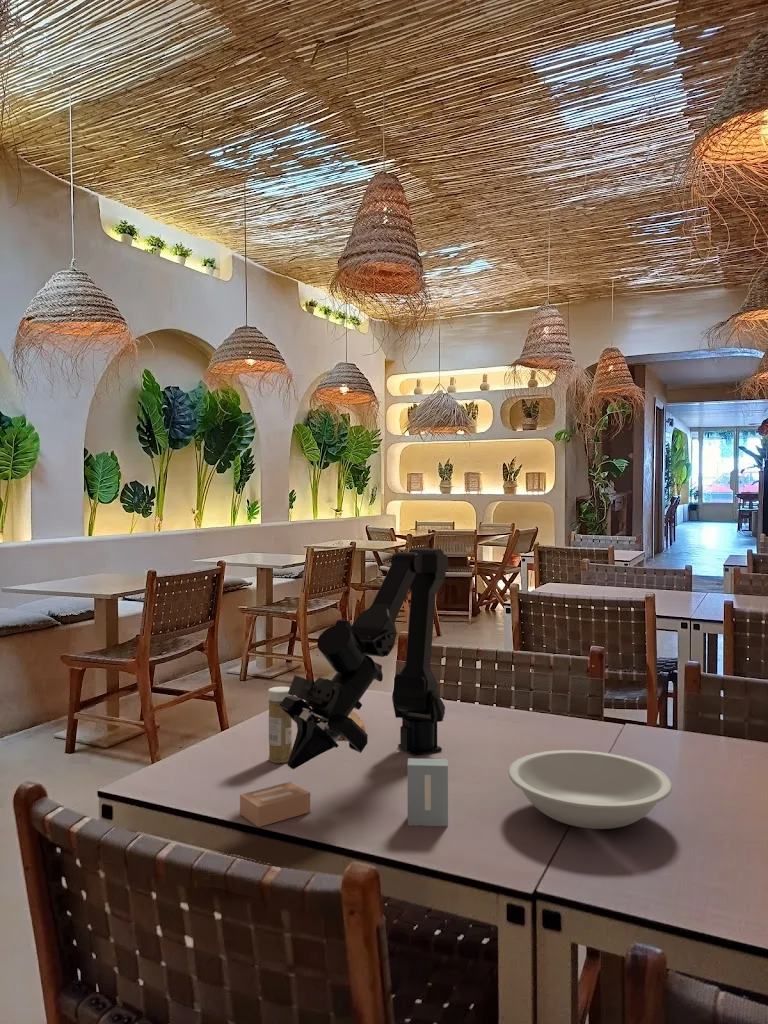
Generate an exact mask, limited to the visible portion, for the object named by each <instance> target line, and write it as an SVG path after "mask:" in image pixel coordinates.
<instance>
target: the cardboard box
mask: <svg viewBox="0 0 768 1024" xmlns="http://www.w3.org/2000/svg"><path fill="white" fill-rule="evenodd" d="M309 813H311V792H309V790H306V789H304V788H303V787H301V786H299V785H297V784H296V783H293V782H292V781H288V782H284V783H280V784H276V785H272V786H269V787H264V788H261V789H257V790H253V791H249V792H245V793H242V794H240V795H239V814H240V816H242V817H243V818H245V819H246V820H247V821H249V822H251V823H252V824H254V826H256V827H257V828H260V827H264V826H265V827H266V826H268V825H271V824H274V823H277V822H281V821H284V820H285V821H286V820H288V819H291V818H295V817H298V816H301V815H305V814H309Z"/></svg>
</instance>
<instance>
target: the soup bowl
mask: <svg viewBox="0 0 768 1024" xmlns="http://www.w3.org/2000/svg"><path fill="white" fill-rule="evenodd" d="M507 772H508V777H509V779H510V780H511V782H512V783H513V785H515V786H516V787H518V788H519V789H520V790H522V792H523V794H524V796H526V798H527V799H528V801H529V802H530V803H531V804H532V805H533V806H534V807H535V808H536V809H537V810H538V811H540V812H541V813H543V815H545V816H547V817H549V818H551V819H553V820H555V821H557V822H560V823H562V824H565V825H569V826H573V827H577V828H578V827H579V828H582V829H593V830H607V829H608V830H609V829H610V830H611V829H616V828H622V827H626V826H629V825H631V824H634V823H636V822H638V821H639V820H641V819H643V818H644V817H646V816H647V815H648V814H650V812H651V811H652V810H653V809H654V808H655V807H656V805H657V804H658V803H660V802H661V801H664V800H665V799H666V798H668V797H669V796H670V794H671V793H672V790H673V783H672V781H671V779H670V778H669V776H667V774H665V773H664V772H663V771H662V770H660V769H658V768H656V767H654V765H653V766H652V765H651V764H649V763H646V762H643V761H641V760H638V759H634V758H631V757H628V756H624V755H618V754H615V753H614V754H613V753H608V752H604V751H603V752H601V751H593V750H580V749H561V750H560V749H558V750H557V749H556V750H547V751H539V752H536V753H531V754H527V755H524V756H522V757H519V758H518V759H516V760H514V761H513V762H512V763H511V764H510V766H509V768H508V771H507Z"/></svg>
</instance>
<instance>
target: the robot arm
mask: <svg viewBox="0 0 768 1024" xmlns="http://www.w3.org/2000/svg"><path fill="white" fill-rule="evenodd" d="M444 553H445V552H444V551H443V549H441V548H424V547H423V548H421V547H420V548H419V547H413V548H410V549H409V550H408V551H405V552H404V551H398V552H395V553H393V555H392V556H391V562H390V564H391V565H390V567H389V569H388V570H387V573H386V575H385V576H384V579H383V581H382V583H381V585H380V587H379V589H378V591H377V593H376V596H375V598H374V599H373V601H372V603H371V604H370V606H369V608H367V609H366V610H364V611H363V612H361V613H359V615H357V617H356V618H355V620H354V622H353V623H352V624H351V623H350V621H349V620H347V619H346V620H345V619H337V621H336V623H335V625H332V626H331V625H330V626H329V627H327V628H326V629H325V630H324V631H323V632H322V633H320V634H319V636H318V638H317V645H316V646H317V648H318V651H319V652H320V653H321V654H322V656H323V657H324V658H325V660H326V661H327V662H328V664H329V665H330V667H331V668H332V670H334V671H335V672H336V673H335V675H334V676H333V677H332V678H331V679H328V678H322V677H318V678H317V679H316V680H315V681H314V680H310V679H308V678H304V677H301V676H298V675H295V674H294V676H293V678H292V681H291V683H290V689H289V691H288V694H289V695H292V696H288V697H285V698H284V700H283V701H282V702H281V704H280V705H279V707H280V708H281V709H282V710H283V711H284V712H285V713H286V714H287V715H288V716H289V717H291V718H292V721H293V722H295V723H296V726H297V731H296V732H297V733H296V735H295V738H294V739H295V740H294V742H293V744H292V751H291V754H290V757H289V760H288V762H286V765H287V767H288V768H289V769H291V770H295V769H297V768H299V767H300V766H302V765H304V764H305V763H307V762H309V761H311V760H312V759H314V758H316V757H318V756H320V755H322V754H323V753H325V752H328V751H329V750H332V749H333V748H335V749H337V748H338V747H339V744H338V743H337V742H338V740H339V738H340V736H342V737H345V739H346V740H345V741H347V742H348V747H349V748H350V749H351V750H353V751H355V752H358V753H359V754H361V753H362V752H363V751H364V749H365V747H366V746H367V745H368V739H369V737H368V734H367V732H366V731H365V732H366V733H365V732H364V731H363V730H362V729H361V728H360V727H359V726H358V725H357V724H356V723H355V722H354V721H353V720H352V719H351V718H349V717H348V716H349V714H350V713H351V711H354V709H356V710H358V711H359V710H360V709H361V708H362V706H363V704H362V703H361V702H360V700H361V699H362V697H363V696H364V694H365V693H366V692H367V691H368V688H369V687H370V686H371V684H372V683H373V682H374V680H375V681H378V682H380V683H381V682H382V681H383V677H384V676H383V675H384V674H383V671H382V669H383V665H382V664H380V663H377V662H376V661H374V660H373V658H372V657H379V658H385V657H388V656H389V655H390V654H391V652H392V650H393V649H394V647H395V644H396V639H397V635H398V631H397V627H396V624H395V622H396V619H397V617H398V615H399V613H400V610H401V608H402V606H403V604H404V602H405V600H406V597H407V595H408V592H409V590H410V604H409V613H408V615H409V616H408V627H407V628H408V629H407V638H406V639H407V640H406V641H407V643H406V654H405V665H404V667H403V668H402V670H401V671H400V673H397V674H395V676H394V678H393V679H394V681H393V691H392V695H391V697H392V698H391V699H392V705H393V706H392V707H393V710H394V715H395V718H397V719H398V718H399V719H401V720H402V722H401V726H400V727H399V728H400V729H399V730H400V731H399V732H400V733H399V735H400V740H399V741H400V742H399V744H397V747H398V748H399V749H401V750H403V751H405V752H407V753H409V754H411V755H412V756H414V757H415V756H421V755H427V754H431V753H436V752H441V751H443V748H442V747H441V746H439V745H438V722H439V723H440V722H443V721H444V717H445V714H446V711H445V710H446V706H445V704H444V702H443V700H442V699H441V696H440V695H439V693H438V682H437V679H436V677H435V674H434V673H433V671H432V669H431V660H432V659H431V658H432V645H433V633H434V632H433V630H434V622H435V621H434V619H435V605H436V604H435V603H436V595H437V593H438V591H439V590H440V588H441V587H442V585H444V582H445V581H446V573H447V571H448V568H449V558H448V555H447V554H444ZM318 719H320V720H318Z"/></svg>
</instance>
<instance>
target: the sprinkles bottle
mask: <svg viewBox="0 0 768 1024" xmlns="http://www.w3.org/2000/svg"><path fill="white" fill-rule="evenodd" d="M289 689H290V687H289V686H273V687H271V688H270V687H269V688H268V690H267V699H268V744H269V745H268V746H269V747H268V748H269V753H268V754H269V755H268V760H269V762H271V763H275V764H287V763H288V760H289V757H290V754H291V751H292V748H293V744H292V743H293V723H292V722H293V719H292V718H291V717H289V716H288V715H287V714H286V713H285V712H284V711H283V710H282V709H281V708H280V707H279V705H280V704H281V702H282V701H283V700H284V698H285V697H288V696H292V695H289V694H288V691H289Z"/></svg>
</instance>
